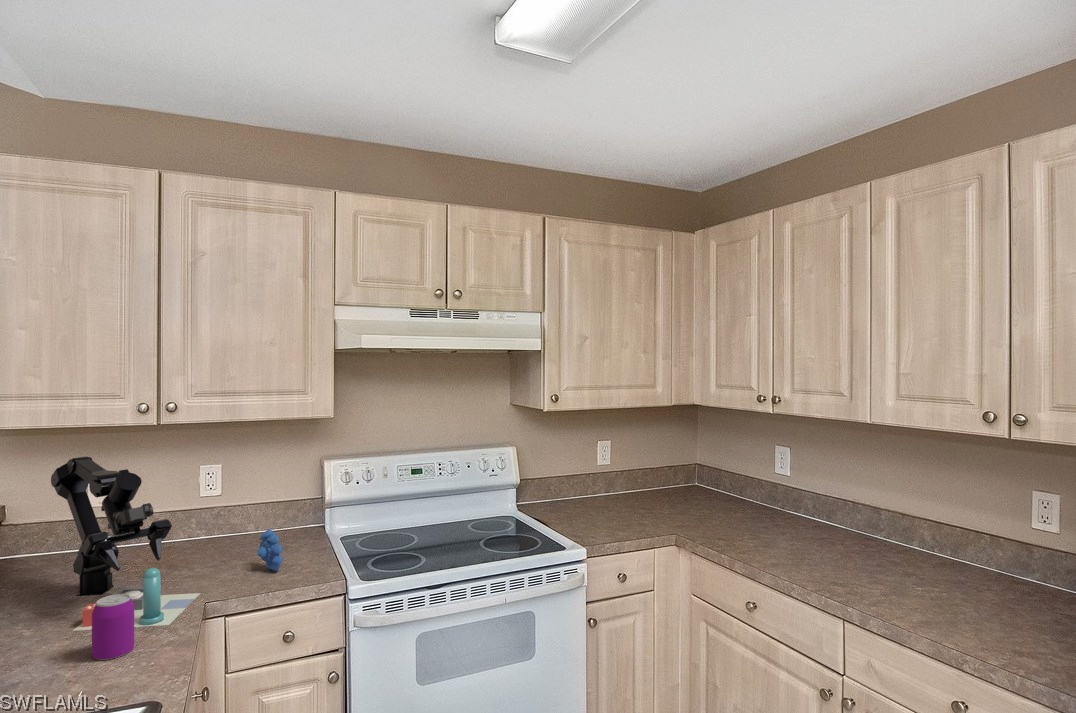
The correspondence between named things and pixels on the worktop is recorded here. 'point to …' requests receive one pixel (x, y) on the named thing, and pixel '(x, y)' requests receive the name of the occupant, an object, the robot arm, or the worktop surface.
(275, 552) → the grapes
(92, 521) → the robot arm
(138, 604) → the tray
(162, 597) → the board
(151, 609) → the teal dildo
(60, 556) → the worktop surface
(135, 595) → the dome
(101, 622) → the beverage can
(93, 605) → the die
